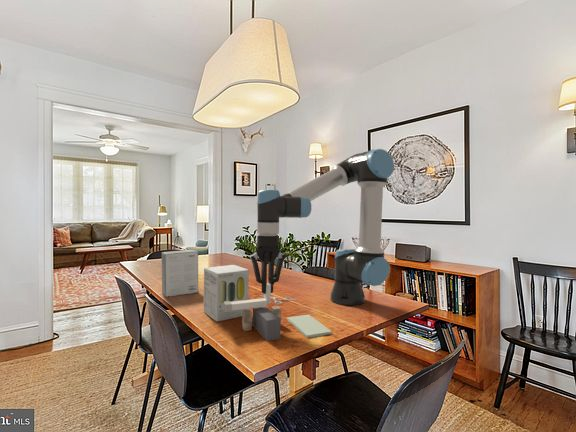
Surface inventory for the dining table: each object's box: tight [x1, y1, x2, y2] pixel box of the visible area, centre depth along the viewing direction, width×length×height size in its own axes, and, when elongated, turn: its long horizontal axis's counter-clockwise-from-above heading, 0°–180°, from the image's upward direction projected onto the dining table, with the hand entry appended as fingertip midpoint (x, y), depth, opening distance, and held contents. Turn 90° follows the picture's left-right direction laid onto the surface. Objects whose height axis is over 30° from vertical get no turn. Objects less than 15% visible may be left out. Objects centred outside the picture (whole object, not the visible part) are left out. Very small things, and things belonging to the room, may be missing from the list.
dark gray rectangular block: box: [252, 306, 281, 342], centre depth 101 cm, size 4×14×6 cm, turn 25°
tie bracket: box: [241, 305, 282, 331], centre depth 105 cm, size 13×3×6 cm, turn 112°
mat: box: [286, 314, 333, 339], centre depth 105 cm, size 9×17×1 cm, turn 22°
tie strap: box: [224, 297, 268, 312], centre depth 102 cm, size 14×4×2 cm, turn 112°
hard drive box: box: [161, 249, 199, 298], centre depth 145 cm, size 16×8×20 cm, turn 123°
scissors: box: [255, 294, 298, 305], centre depth 139 cm, size 11×1×20 cm
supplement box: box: [203, 264, 250, 323], centre depth 117 cm, size 13×13×18 cm
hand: (267, 302), depth 105 cm, fingers closed
